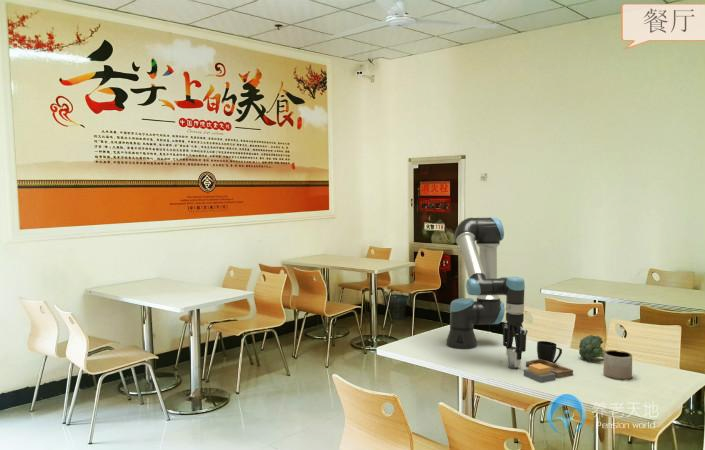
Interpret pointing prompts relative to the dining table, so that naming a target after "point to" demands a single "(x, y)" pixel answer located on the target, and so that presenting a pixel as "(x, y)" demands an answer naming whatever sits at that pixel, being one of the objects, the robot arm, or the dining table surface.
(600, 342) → the vegetable
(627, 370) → the planter
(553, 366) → the wooden tray
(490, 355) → the dining table surface
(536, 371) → the orange square block
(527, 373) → the frame
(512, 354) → the cell
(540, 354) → the mug
